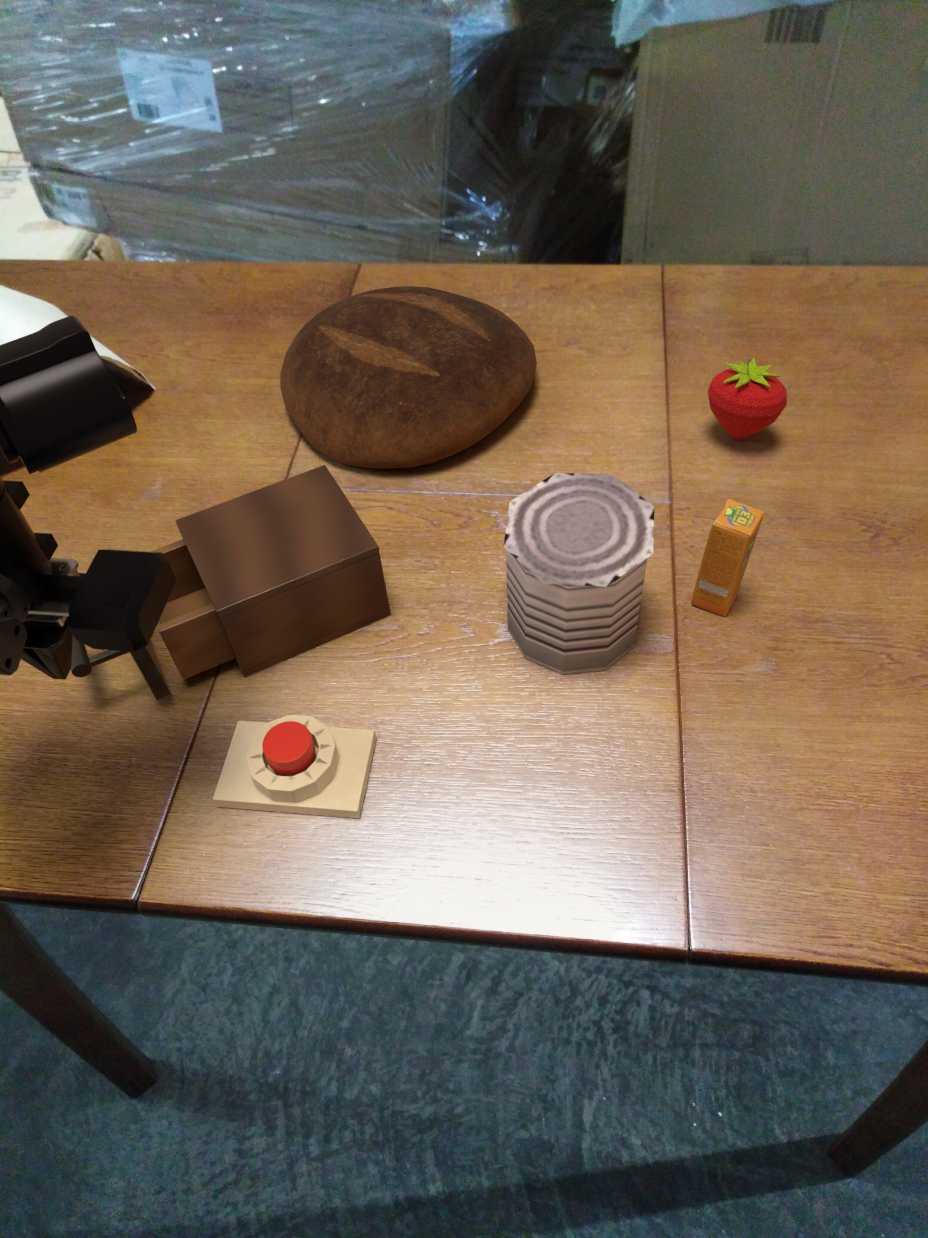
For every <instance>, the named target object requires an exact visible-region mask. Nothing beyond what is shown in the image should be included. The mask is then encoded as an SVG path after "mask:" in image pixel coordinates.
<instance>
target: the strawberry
mask: <svg viewBox="0 0 928 1238" xmlns="http://www.w3.org/2000/svg"><path fill="white" fill-rule="evenodd" d="M724 365H725V366H726V367H729V368H726V369H724V370H722V371H721V372H719V373H717V374H716V375H714V376H713V378H712V380H711V382H710V384H709V386H708V388H707V396H708V402H709V408H710V411H711V413H712V414H713V416H714V417H715V419H716V420H717V422H718V423H719V425H720V426H721V427H722V428H723V429H724V430H725V432H726V433H727V434H728V436H730V438H731V439H732V440H735V441H742V440H745V439H746V438H748V437H749V436H752V435H754V434H757V433H759V432H761V431H763V430H765V428H767V427H769V426H771V425H772V424H773V423H775V422H776V421H777V420H778V418H779V417H780V415H781V414H782V413H783V411H784V410H785V408H786V407H787V403H788V391H787V388H786V386H785V385H784V384H783V382H781V380H780V379H779V378H780V377H781V375H779V374H776V373H772V372H769V371H767V370H768V369H769V368H770V367H771V366H772V365H771V364H770V365H760V366H759V365H758V366H757V363H756V358H755V357H753V358H752V357H751V358H750V359H749V360H748V361H747V363H744V362H743V361H741V360H739V361H738V364H734V363H730V362H724Z"/></svg>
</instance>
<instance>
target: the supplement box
mask: <svg viewBox="0 0 928 1238" xmlns="http://www.w3.org/2000/svg"><path fill="white" fill-rule="evenodd" d="M764 516H765V512H763V511H762V510H759V509H757V508H755V507H752V506H749V505H747V504H744V503H741V502H739V501H736V500H733V499H730V498H727V500H726V502H725V505H724V506H723V508H722V509H721V511H720V512H719V514H718V516H717V517H716V518H715V520H714V521H713V523H712V525H711V527H710V531H709V535H708V537H707V542H706V545H705V548H704V551H703V555H702V559H701V563H700V566H699V569H698V573H697V577H696V580H695V586H694V588H693V593H692V596H691V600H690V601H691V602H690V603H691V604H692V605H693V606H695V607H698V608H700V609H703V610H705V611H707V612H708V611H709V612H710V613H712V614H715V615H718V616H721V617H727V615H728V613H729V611H730V609H731V608H732V607H733V604H734V602H735V600H736V598H737V596H738V594H739V591H740V588H741V585H742V581H743V579H744V576H745V572H746V570H747V566H748V564H749V560H750V558H751V556H752V555H751V554H752V552H753V549H754V546H755V543H756V539H757V537H758V534H759V531H760V527H761V525H762V522H763V520H764Z"/></svg>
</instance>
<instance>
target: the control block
mask: <svg viewBox="0 0 928 1238" xmlns="http://www.w3.org/2000/svg"><path fill="white" fill-rule="evenodd" d="M287 721H294V722H298V723H301V724H303V725H304V726H306V727H307V728H308V730H309V731H310V734H311V736H312V739H313V742H314V745H315V756H314V758H313V760H312V762H311V764H310V765H309V766H308V767H307V768H306V769H304V770H303V771H301V772H299V773H296V774H291V775H285V774H280V773H278V772H276V771H274V770H273V769H272V768H271V767H270V766H269V764H268V761H267V759H266V757H265V754H264V752H263V748H262V743H263V739H264V737H265V735H266V734H267V732H268V731H269V730H270V729H271V728H272V727H274V726H275V725H277V724H279V723H282V722H287ZM376 741H377V734H376V731H375V729H366V728H353V727H339V726H328V725H327V724H325V723H323V722H322V721H321V720H319V719H317V718H316V717H314V716H313V715H307V714H306V715H303V714H292V713H291V714H287V715H284V716H281V717H278V718H276V719H273V720H270V721H269V722H268V721H256V720H255V721H253V720H242V719H241V720H240V719H239V720H237V722H236V726H235V729H234V732H233V736H232V739H231V742H230V745H229V748H228V750H227V754H226V756H225V760H224V762H223V766H222V769H221V772H220V776H219V778H218V781H217V784H216V787H215V790H214V794H213V797H212V801H213V803H214V805H215V806H216V807H218V808H228V809H229V808H230V809H238V810H239V809H240V810H249V811H250V810H251V811H264V812H275V813H287V814H299V815H300V814H301V815H310V816H311V815H312V816H324V817H336V818H346V819H347V818H349V819H360V818H361V814H362V809H363V805H364V800H365V794H366V790H367V786H368V780H369V776H370V770H371V767H372V760H373V758H374V757H373V756H374V751H375V748H376Z"/></svg>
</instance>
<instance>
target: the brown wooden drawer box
mask: <svg viewBox="0 0 928 1238" xmlns="http://www.w3.org/2000/svg"><path fill="white" fill-rule="evenodd" d="M174 521H175V524H176V526H177V528H178V531H179V533H180V536H181V538H182V539H183V540H184V542H185V544H186V546H187V548H188V551H189V553H190V555H191V557H192V559H193V562H194V564H195V566H196V568H197V570H198V573H199V575H200V577H201V579H202V581H203V584H204V586H205V588H206V590H207V592H208V594H209V597H210V599H211V601H212V603H213V605H214V608H215V610H216V612H217V615H218V617H219V619H220V622H221V624H222V627H223V629H224V631H225V634H226V636H227V639H228V641H229V643H230V646H231V648H232V651H233V653H234V655H235V658H234V659H235V661H236V663H237V665H238V668H239V670H240V672H241V674H242V676H243V678H247V677H248V676H251V675H253V674H255V673H257V672H260V671H262V670H264V669H267V668H269V667H272V666H275V665H276V664H279V663H281V662H284V661H286V660H288V659H290V658H293V657H295V656H298V655H300V654H303V653H304V652H308V651H309V650H312V649H315V648H317V647H318V646H321V645H323V644H325V643H326V644H327V642H330V641H333V640H336V639H337V638H340V637H342V636H344V635H347V634H349V633H352V632H353V631H356V630H358V629H360V628H363V627H366V626H367V625H370V624H372V623H375V622H377V621H380V620H382V619H384V618H387V617H389V616H391V615H392V612H391V608H390V601H389V597H388V591H387V585H386V579H385V575H384V570H383V563H382V559H381V558H382V557H381V552H380V547H379V544H377V541H376V540H375V539H374V537H373V536H372V534H371V532H370V531H369V530H368V528H367V526H366V525H365V523H364V521H362V519H361V517H360V516H359V514H358V513H357V511H356V510H355V508H354V506H353V505H352V504H351V502H350V501H349V499H348V498H347V496H346V494H345V493H344V492H343V490H342V488H341V487H340V485H339V484H338V482H337V481H336V480H335V478H334V476H333V474H332V473H331V472H330V471H329V469H328V467H327V466H326V464H323V465H321V466H317V467H314V468H312V469H309V470H306V471H304V472H301V473H298V474H296V475H293V476H291V477H287V478H285V479H283V480H279V481H277V482H274V483H272V484H269V485H267V486H264V487H261V488H258V489H255V490H253V491H250V492H247V493H246V494H242V495H239V496H237V497H235V498H234V497H233V498H231V499H228V500H226V501H223V502H221V503H218V504H214V505H212V506H210V507H206V508H204V509H202V510H199V511H197V512H194V513H191V514H188V515H185V516H183V517H181V518H178V519H175V520H174Z"/></svg>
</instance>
